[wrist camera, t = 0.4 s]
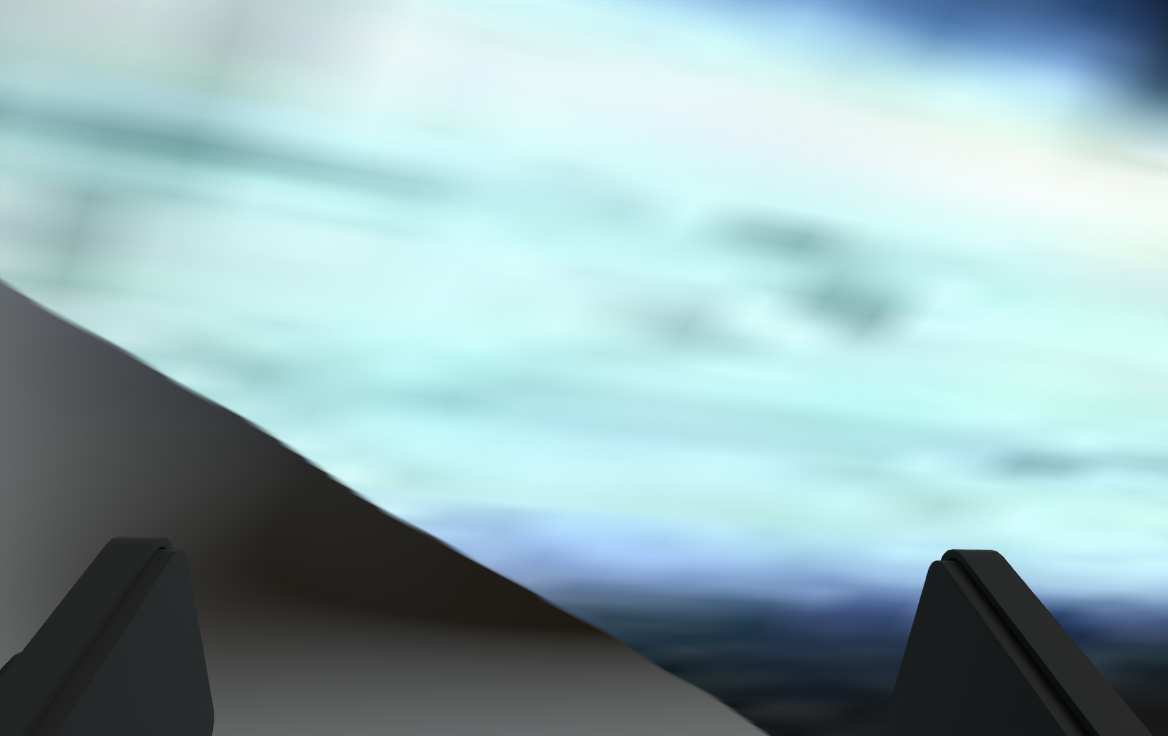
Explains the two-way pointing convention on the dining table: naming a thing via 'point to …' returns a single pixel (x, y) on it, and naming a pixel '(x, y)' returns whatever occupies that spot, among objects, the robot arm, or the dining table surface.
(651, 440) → the dining table surface
